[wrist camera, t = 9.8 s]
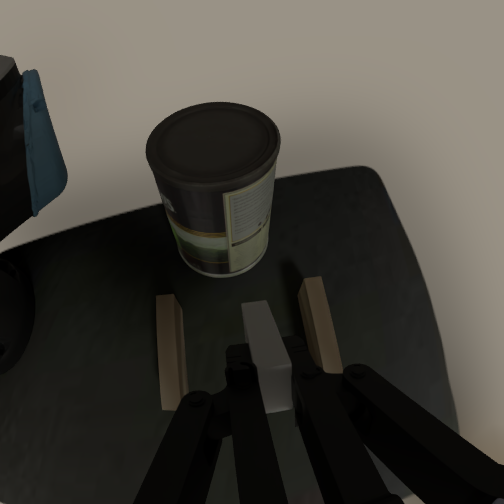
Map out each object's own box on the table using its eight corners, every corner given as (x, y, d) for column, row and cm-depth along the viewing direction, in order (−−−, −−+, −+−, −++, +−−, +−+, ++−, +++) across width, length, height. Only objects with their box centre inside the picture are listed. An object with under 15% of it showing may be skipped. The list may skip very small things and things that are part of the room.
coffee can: (182, 287, 30) (143, 197, 18) (174, 209, 35) (147, 112, 23) (279, 269, 32) (299, 172, 19) (257, 195, 37) (262, 95, 24)
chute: (173, 410, 24) (162, 409, 21) (166, 310, 29) (156, 295, 26) (332, 389, 25) (345, 385, 22) (312, 293, 30) (320, 276, 27)
